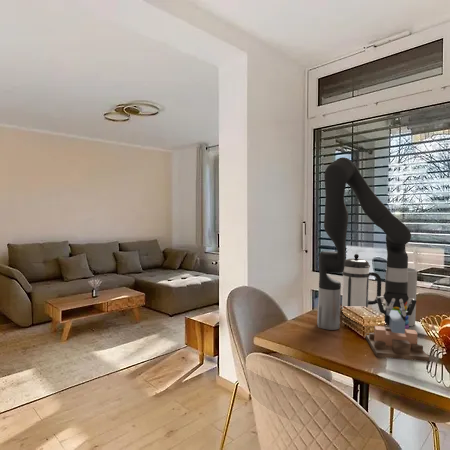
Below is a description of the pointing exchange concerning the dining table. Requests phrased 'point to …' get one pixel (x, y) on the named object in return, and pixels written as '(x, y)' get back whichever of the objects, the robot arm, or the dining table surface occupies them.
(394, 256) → the robot arm
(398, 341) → the jig
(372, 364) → the dining table surface
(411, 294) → the cylinder vase
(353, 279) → the coffee press
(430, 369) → the dining table surface
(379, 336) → the pink u-shaped block
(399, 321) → the blue-grey rectangular bar
